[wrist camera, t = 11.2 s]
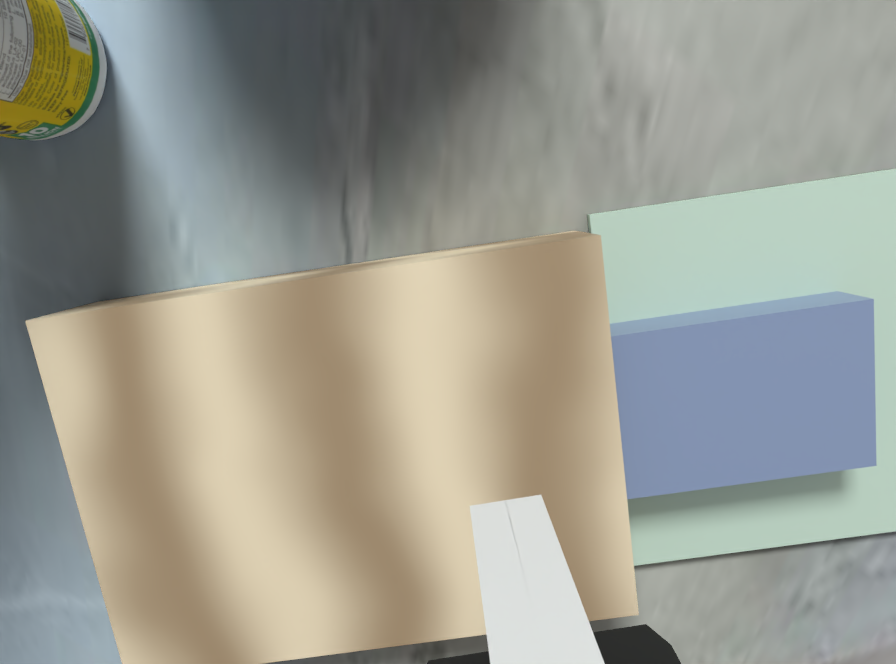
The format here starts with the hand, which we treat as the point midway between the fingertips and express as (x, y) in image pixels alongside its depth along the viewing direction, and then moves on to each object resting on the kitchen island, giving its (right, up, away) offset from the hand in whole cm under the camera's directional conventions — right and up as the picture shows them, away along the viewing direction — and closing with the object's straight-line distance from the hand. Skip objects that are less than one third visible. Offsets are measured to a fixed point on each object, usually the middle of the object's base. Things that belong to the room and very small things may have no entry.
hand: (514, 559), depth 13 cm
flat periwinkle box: (+9, +3, +11) cm, 14 cm away
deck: (-5, +1, +11) cm, 12 cm away
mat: (+11, +3, +11) cm, 16 cm away
